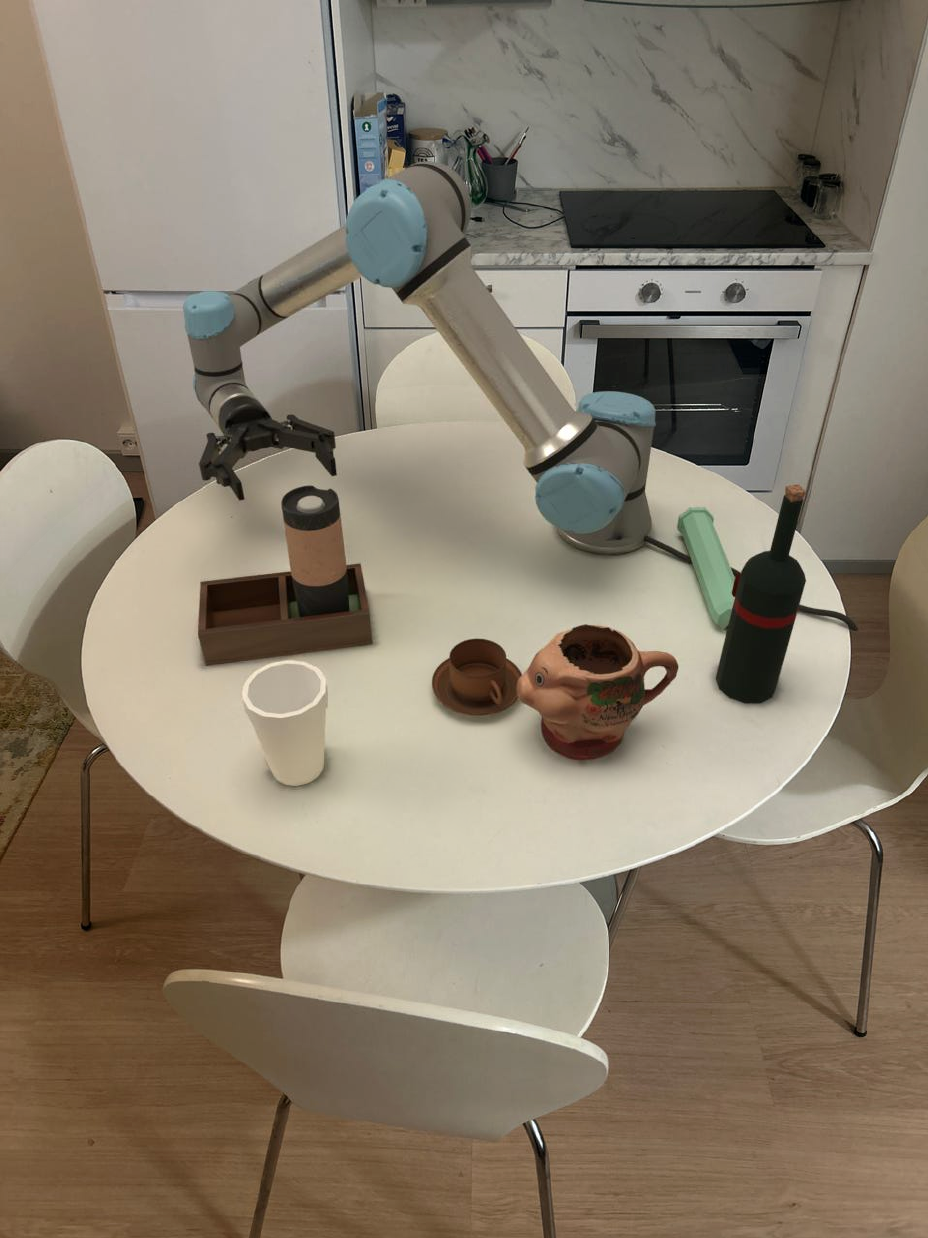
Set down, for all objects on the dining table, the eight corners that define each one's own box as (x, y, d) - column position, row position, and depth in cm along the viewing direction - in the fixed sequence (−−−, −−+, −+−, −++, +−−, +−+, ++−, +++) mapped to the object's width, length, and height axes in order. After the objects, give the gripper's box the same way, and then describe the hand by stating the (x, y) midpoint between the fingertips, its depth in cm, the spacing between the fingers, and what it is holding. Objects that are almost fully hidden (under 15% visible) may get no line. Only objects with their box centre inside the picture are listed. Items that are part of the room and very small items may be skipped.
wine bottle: (748, 648, 128) (797, 457, 109) (787, 697, 120) (846, 501, 101) (697, 658, 126) (737, 466, 107) (733, 709, 118) (783, 512, 99)
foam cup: (262, 739, 114) (246, 662, 106) (337, 735, 115) (327, 657, 107) (255, 799, 107) (238, 720, 99) (335, 793, 108) (324, 715, 100)
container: (749, 600, 126) (708, 501, 145) (707, 613, 128) (672, 513, 147) (757, 629, 130) (716, 529, 149) (716, 642, 131) (681, 541, 150)
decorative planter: (643, 684, 122) (657, 601, 113) (686, 748, 113) (704, 664, 104) (501, 714, 118) (504, 631, 109) (534, 784, 109) (539, 700, 100)
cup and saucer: (541, 690, 121) (543, 655, 117) (480, 738, 114) (481, 703, 111) (474, 649, 128) (475, 615, 124) (413, 693, 121) (411, 658, 117)
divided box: (372, 644, 129) (369, 613, 125) (205, 665, 125) (197, 634, 122) (363, 593, 138) (360, 563, 134) (207, 611, 135) (200, 581, 131)
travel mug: (309, 641, 128) (291, 521, 115) (291, 611, 133) (272, 493, 121) (360, 625, 131) (348, 505, 118) (340, 596, 136) (326, 479, 123)
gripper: (319, 422, 149) (372, 480, 134) (166, 458, 140) (204, 525, 125) (314, 378, 144) (368, 434, 129) (155, 413, 135) (193, 477, 120)
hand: (287, 479), depth 127 cm, fingers open, 13 cm apart
